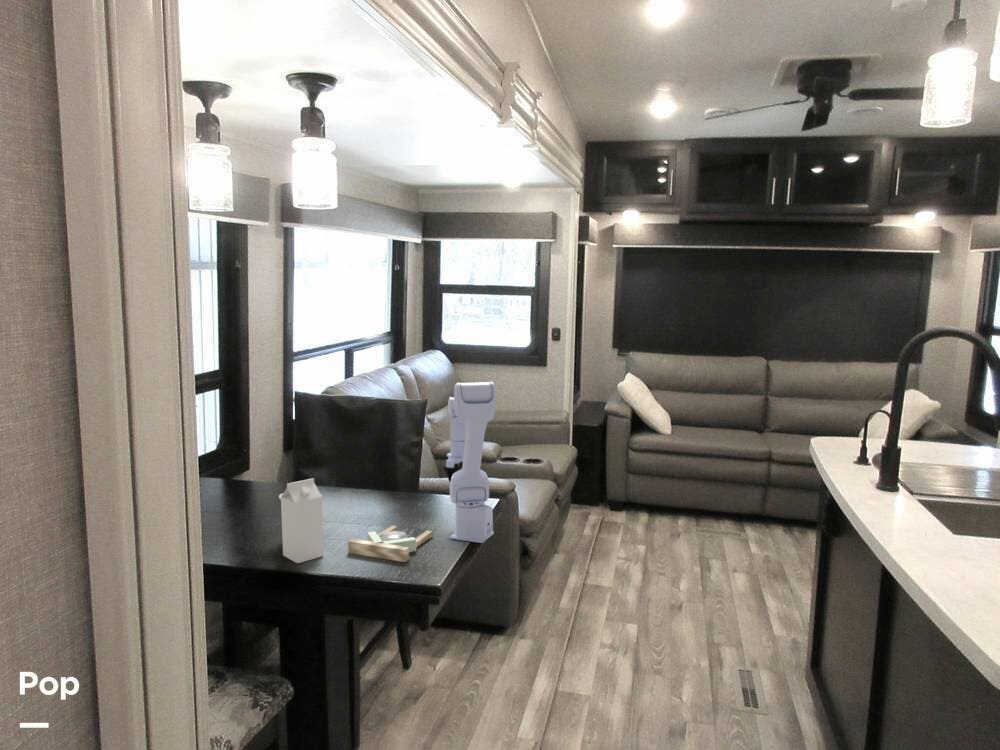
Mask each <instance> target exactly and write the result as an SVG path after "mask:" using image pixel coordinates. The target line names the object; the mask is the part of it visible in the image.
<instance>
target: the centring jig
mask: <svg viewBox="0 0 1000 750" xmlns="http://www.w3.org/2000/svg"><path fill="white" fill-rule="evenodd" d="M390 531H398V525H391V526H388V527H387V528H386V529H384V530H382V531H380V532H379V533H377V532H376V531H368V532H366V533H367V534H366V535H367V540H363V539H358V538H357V539H356V538H351V539H349V540H348V541H347V547H348V548H347V551H348V553H349V554H352V555H359V556H365V557H370V558H377V559H383V560H389V561H396V562H401V563H402V562H403V563H406V562H408V561H409V560H410V553H413V551H414V552H417V549H418V548H419V547H420V546H422V545H423V544H424V543H426V542H427V541H428V539H429V540H430V539H431V538H433V530H426V531H424V532H422V533H421V534H420V535H418V536H417V537H414V536H412V537H407V538H404V539H397V540H390V541H382V540H381V539H380V537H379V536H380V534H382V533H385V532H390ZM425 541H426V542H425ZM422 543H423V544H422ZM421 544H422V545H421ZM418 546H419V547H418Z"/></svg>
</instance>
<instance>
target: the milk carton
mask: <svg viewBox="0 0 1000 750" xmlns="http://www.w3.org/2000/svg"><path fill="white" fill-rule="evenodd" d="M282 494H283V495H282V496H281V500H280V508H281V509H280V510H281V511H280V512H281V532H282V533H281V534H282V538H281V539H282V556H283V557H285V558H287V559H289V560H290V561H293V562H294V563H295V564H300V563H304V562H307V561H311V560H313V559H317V558H321V557H324V534H323V533H324V528H323V523H324V522H323V503H322V502H323V501H322V500H323V498H322V497H321V495H322V494H321V492H320V491H319V489H318V487H317V485H316V483H315V478H314V477H313V478H308V479H304V480H303V479H302V480H299V481H293V482H289V483H288V482H287V483H286V489H285V490H284V492H283V493H282ZM320 494H321V495H320Z"/></svg>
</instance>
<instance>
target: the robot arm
mask: <svg viewBox="0 0 1000 750" xmlns="http://www.w3.org/2000/svg"><path fill="white" fill-rule="evenodd" d="M496 407H497V387H496V384H495V383H494V381H489V382H488V381H487V382H486V381H485V382H483V381H482V382H456V383H455V384H454V387H453V397H452V396H449V397H448V401H447V411H448V412H447V413H448V417H449V420H450V421H449V424H450V426H449V428H450V431H449V432H450V433H449V435H450V436H449V437H450V440H449V441H450V452H449V453H447V454H446V457H448V459H446V460H445V461H446V462H445V464H444V465H443V469H442V470H443V471H444V472H445V475H446V476H447V478H448V482H449V498H450V502H451V503H453V504H455V532H454V533H453V534H451V535H450V536H449V539H452V540H457V541H464V542H472V543H478V544H483V543H485V542H486V541H487V540H488V539H489V538H491V536H493V535H494V534H495V532H494V527H493V526H494V519H493V518H494V513H493V507H492V506H491V505H487V504H485V502H487V501H488V499H489V497H490V481H489V477H488V475H487V472H486V471H484V470H482V469H481V467H482V465H481V464H482V456H483V450H484V449H483V448H484V447H483V446H484V441H485V433H486V429H487V425H488V423H489V422H490V421H492V420H494V417H495V414H496Z"/></svg>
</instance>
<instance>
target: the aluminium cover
mask: <svg viewBox="0 0 1000 750" xmlns="http://www.w3.org/2000/svg"><path fill="white" fill-rule="evenodd" d="M379 537H380V539H381V540H382V541H390V540H397V539H404V538H408V534H407V533H406V532H405V531H398V530H397V531H390V532H385V533H382V534H380V536H379Z"/></svg>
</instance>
